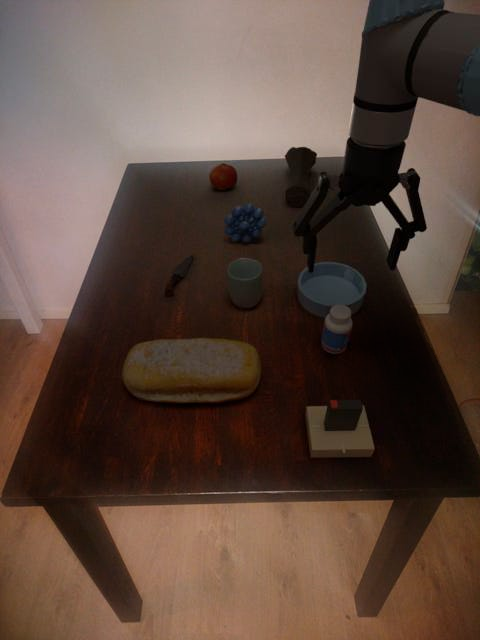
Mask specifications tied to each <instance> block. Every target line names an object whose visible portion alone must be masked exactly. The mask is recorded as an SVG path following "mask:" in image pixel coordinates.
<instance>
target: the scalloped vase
mask: <svg viewBox="0 0 480 640" xmlns="http://www.w3.org/2000/svg"><path fill="white" fill-rule="evenodd" d="M317 156H318V154H317V152H316V151H314V150H312V149H311V148H309V147H307V146H298V147H295V146H293V147H290V148H289V149H288V150H287V152H286V154H284V159H285V160H286V163H287V167H288V166H289V167H288V169H289V168H290V169H289V170H290V181H289V183H288V185H287V187H286V189H285V201H286V203H287V205H288V206H291V207H294V208H303V207H304V205H305V204H306V202H307V201H308V199H309V197H310V196H311V188H310V187H311V186H310V183H309V182H310V181H309V176H310V171H311V169H312V168H313V167H314V166H315V165H316V163H317Z"/></svg>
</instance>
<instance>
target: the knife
mask: <svg viewBox="0 0 480 640" xmlns="http://www.w3.org/2000/svg"><path fill="white" fill-rule="evenodd" d="M193 257H194V255H190V256H188V257H186V259H184V260H183V261H182V262H181V263H179V264H178V265H177V266H176V267H175V268H174V269H173V270H172V271H170V273H171V276H170V280H169V281H168V282H167V283H166V285H165V289H164V290H163V291H164V292H163V295H164V296H165V297H168V298H170V297H173V294H174V289H173V287H174V286H175V284H176V283H177V282H180V281H181V279H183V278H185V279H186V276H187V274H188V271H189V270H190V267H191V265H192V264H193Z"/></svg>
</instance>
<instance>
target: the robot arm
mask: <svg viewBox="0 0 480 640" xmlns="http://www.w3.org/2000/svg"><path fill="white" fill-rule="evenodd" d="M368 1H369V2H368V6H367V11H366V16H365V20H364V21H365V22H364V24H363V25H364V26H363V30H362V32H361V43H360V44H361V45H360V51H359V60H358V67H357V75H356V81H355V88H354V95H353V100H352V101H353V102H352V107H351V112H350V113H351V114H350V117H349V118H350V119H349V124H348V130H347V134H348V136H349V137H348V138H347V140H346V144H345V150H344V157H343V164H342V170H341V172H340V173H339V175H329V174H328V172H327V171H321V172H320V173H319V174H318V177H317V181H316V186H315V188H314V190H313V191H312V192H311V193H310V197H309V199H308V201H307V202H306V204H305V205H304V206H303V207H302V209H301V210H300V212H299V214H298V215H297V216H296V218H295V220H294V221H293V223H292V229H293V235H294V236H295V237H297V238H298V237H302V252H303V255H307V260H306V265H307V267H308V270H309V273H313V272H314V264H316V263H315V262H316V255H317V247H318V237H317V234H318V233H320V232H321V231H322V230H323V229H324V228H325V227H326V226H327V225H329V223H331V222H332V220H334V219H336V217H337V216H338V215H340V213H341V212H345V211H346V210H347V209H349V207H350V206H351V205H352V206H353V207H355V208H356V207H357V208H358V207H363V206H369V207H376V205H378V204H380V203H382V204H383V206H384V207H385V208H386V210H387V211H388V213H390V215H391V217H392V218H393V219H394V221H395V222H396V223H397V224H398V226H399V227H395V228H394V232H393V235H392V238H391V242H390V246H389V249H388V253H387V256H386V259H385V261H386V264H387V266H388V268H389V270H390V271H396V268H397V265H398V262H399V259H400V256H401V252H406V251H407V249H408V246H409V244H410V241H411V240H412V239H414V238H415V237H416V233H418V232H420V233H424V232H426V231H427V229H428V226H427V221H426V218H425V213H424V208H423V205H422V201H421V200H422V199H421V196H420V192H419V189H420V183H421V177H420V175H419V173H418V171H416V169H415V168H413V167H410V168H408V169H407V170H406V172H400V173H399V170H400V169H401V166H402V161H403V157H404V153H405V150H406V146H407V144H406V140H408V138H409V136H410V132H411V127H412V124H413V119H414V116H415V113H416V107H417V104H418V101H419V98H420V99H424V100H427V101H430V102H433V103H437V104H439V105H443V106H447V107H450V108H452V109H456V110H460V111H463V112H466V113H467V114H469V115H472V116H475V117H480V14H476V13H466V12H465V13H463V12H455V11H450V10H448V9H444V8H445V4H446V3H445V0H368ZM399 184H400V185H401V186H402V188H403V189H404V190H405V193H406V197H407V201H408V205H409V208H410V212H411V216H412V220H411V221H408V218H407V217H406V216H405V215H404V213H403V211H402V210H401V209H400V207H399V206H398V205H397V203H396V201H395V200H394V199H393V197H392V196H391V192H392V191H394V190H395V189H396V187H398V185H399ZM335 187H338V188H339V190H338V191H337V192H336V193H335V194H334V196H333V198H332V199H330V201H329V202H328V203H327V204H325V206H323V207H322V208H321V206H322V204H323V203H324V201H325V199H326V197H327V195H328V193H331V192H332V191H333V189H334V188H335ZM320 208H321V209H320ZM319 209H320V210H319ZM318 210H319V211H318Z"/></svg>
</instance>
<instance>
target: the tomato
mask: <svg viewBox="0 0 480 640" xmlns="http://www.w3.org/2000/svg"><path fill="white" fill-rule="evenodd" d="M209 182H210V184H211V187H213V186H214V187H213V188H214V189H217V188H220V189H217V190H220V191H224V190H227V189H226V188H230V189H231V187H232V188H233V186H234V187H235V186H236V184H237V183H238V172H237V169H236V168H235V167H234V166H233V165H231V164H227V163H225V162H222V163H219V164H217V165H216V166H214V167H213V168H212V169H211V170H210V172H209Z"/></svg>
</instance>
